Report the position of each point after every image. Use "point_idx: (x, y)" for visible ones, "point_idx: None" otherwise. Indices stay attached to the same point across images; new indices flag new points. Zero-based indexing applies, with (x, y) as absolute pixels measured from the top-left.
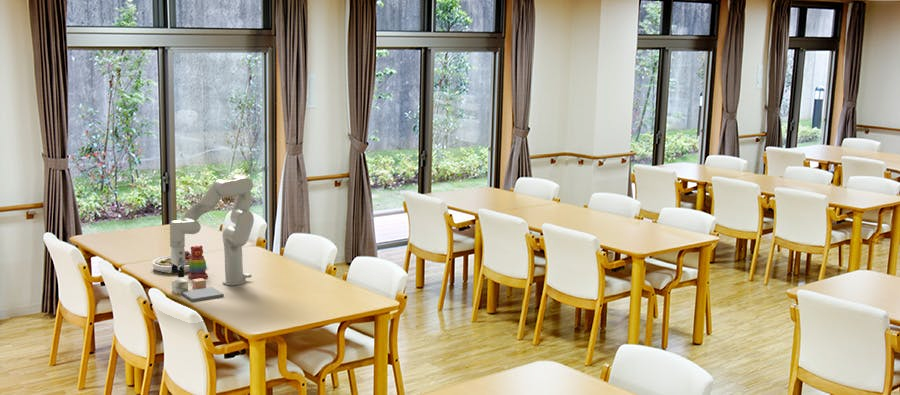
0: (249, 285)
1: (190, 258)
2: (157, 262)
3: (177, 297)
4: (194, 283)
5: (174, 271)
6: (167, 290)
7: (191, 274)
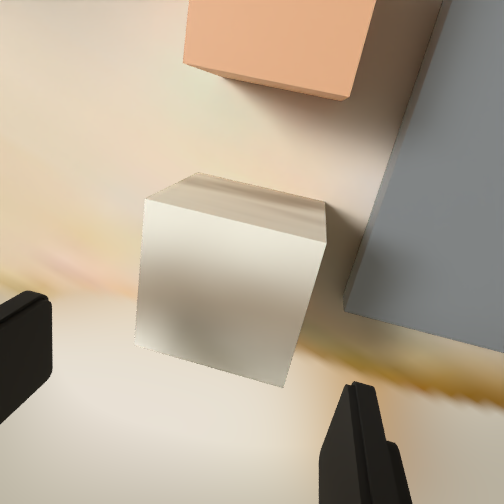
0: None
1: None
2: None
3: (408, 370)
4: (290, 87)
5: (27, 367)
6: (136, 295)
7: None
